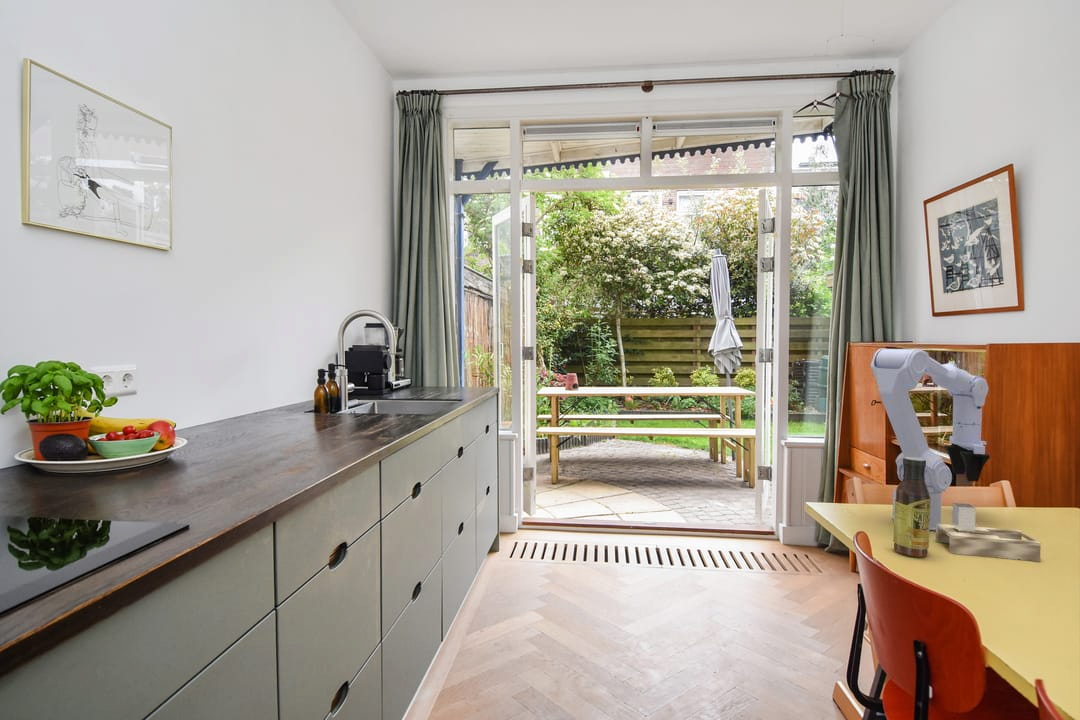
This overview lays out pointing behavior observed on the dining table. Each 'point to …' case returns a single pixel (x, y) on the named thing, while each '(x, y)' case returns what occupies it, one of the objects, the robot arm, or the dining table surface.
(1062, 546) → the dining table surface
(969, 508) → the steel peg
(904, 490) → the sauce bottle
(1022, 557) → the beige wooden frame
